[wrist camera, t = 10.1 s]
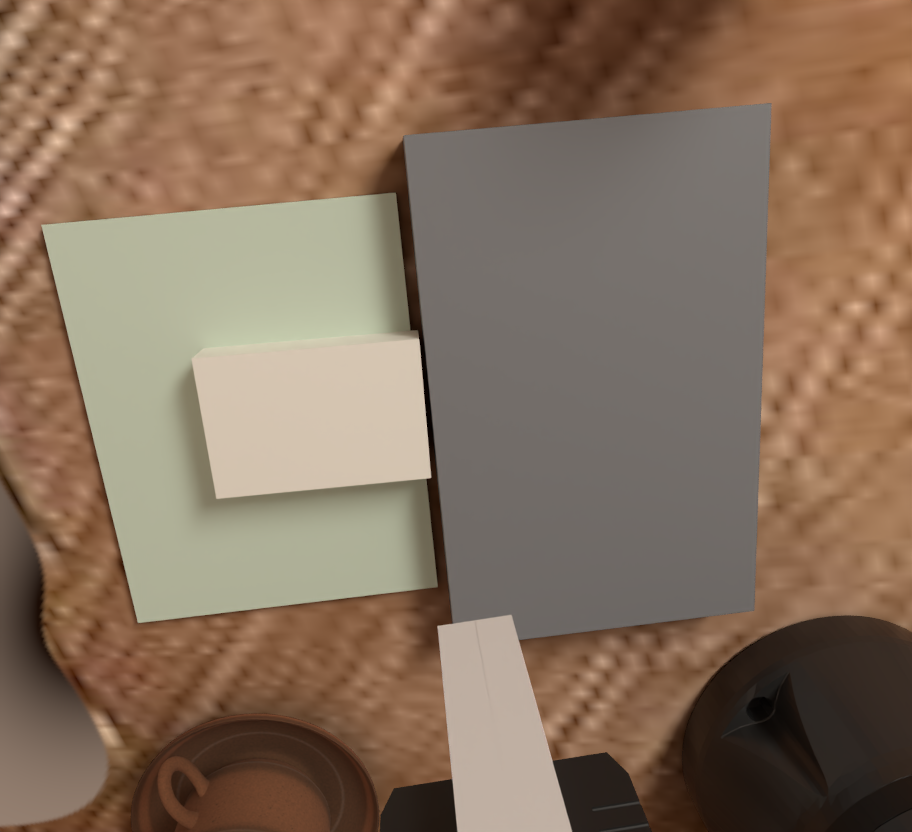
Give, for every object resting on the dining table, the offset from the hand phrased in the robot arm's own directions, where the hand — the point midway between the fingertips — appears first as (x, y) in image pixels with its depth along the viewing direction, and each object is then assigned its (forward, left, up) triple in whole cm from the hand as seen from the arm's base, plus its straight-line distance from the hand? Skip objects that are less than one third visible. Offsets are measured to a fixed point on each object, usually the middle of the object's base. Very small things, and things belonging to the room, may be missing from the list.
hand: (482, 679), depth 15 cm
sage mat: (+1, +8, -19) cm, 21 cm away
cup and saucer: (-19, +11, -20) cm, 30 cm away
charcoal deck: (+1, -7, -19) cm, 20 cm away
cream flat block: (+1, +5, -19) cm, 19 cm away
